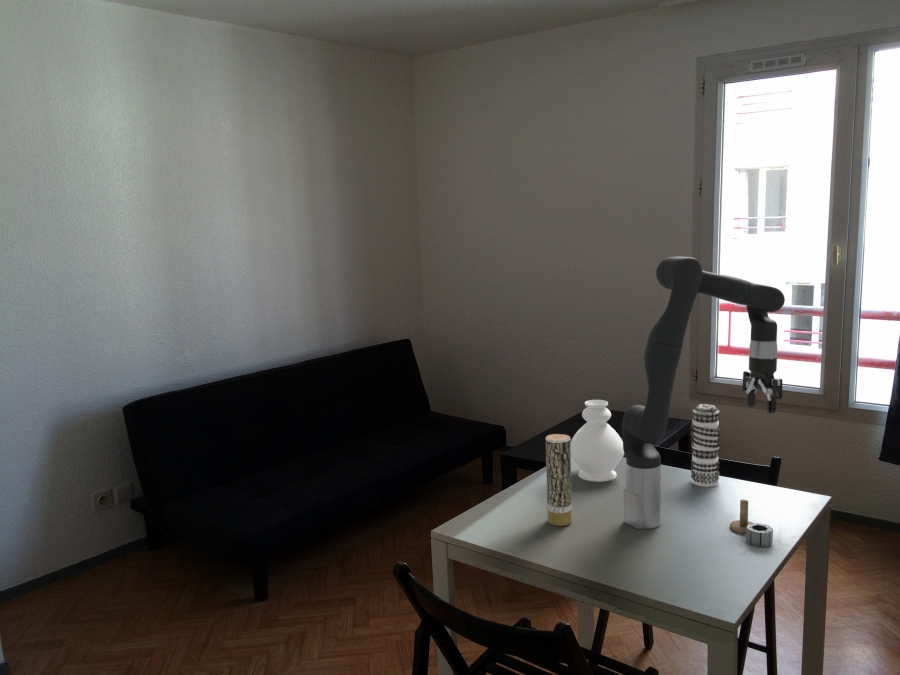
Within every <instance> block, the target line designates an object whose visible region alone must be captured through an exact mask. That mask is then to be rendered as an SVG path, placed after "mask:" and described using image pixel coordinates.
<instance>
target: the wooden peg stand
mask: <svg viewBox="0 0 900 675" xmlns="http://www.w3.org/2000/svg"><path fill="white" fill-rule="evenodd" d="M739 502H740V503H739V520H733V521H731V522H730V523H729V529H730V530H731V532H734V533H736V534H740V535H746V527H747V526H748V524H752V523H753V521H749V500H748V499H740V500H739Z"/></svg>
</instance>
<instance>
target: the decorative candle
mask: <svg viewBox="0 0 900 675" xmlns="http://www.w3.org/2000/svg"><path fill="white" fill-rule="evenodd" d="M719 413H720V410H719V409H718V408H717V407H716V406H715V405H713V404H708V403H707V404H706V403H704V404H703V403H702V404H698V405H696V406H695V408H693V409H692V421H691V422H690V423H689V424H690V426H689V428H690V431H691V432H690V441H691V443H690V445H691V448H692V456H691V458H692V459H691V460H690V463H691V465H690V466H691V470H690V473H691V474H690V478H691V479H690V481H691V483H692V484H693V485H695V486H699V487H709V488H711V487H716V486H718V485H719V484H720V476H719V475H720V471H719V470H720V461H719V455H718V454H719V449H720V447H721V445H720V442H721V440H720V439H719V437H721V433H720V432H721V431H722V429H721V428H720V427H719V425H720V424H719V423H720V421H719Z"/></svg>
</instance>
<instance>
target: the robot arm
mask: <svg viewBox="0 0 900 675" xmlns="http://www.w3.org/2000/svg"><path fill="white" fill-rule="evenodd" d="M655 276H656V279H657V281H658V284H660V286H661V287H663V288H665V289H667V290H669V291H670V296H669V300H668V303H667V305H666V308H665V310H664V311H663V313H662V315H661V316H660V317H659V319H658V320H657V321H656V323H655V324H654V325H653V327H652V329H651V331H650V332H649V334H648V337H647V342H646V346H645V350H644V354H643V355H644V357H643V362H644V363H643V364H644V369H645V375H646V380H647V387H648V388H647V389H648V391H647V396H646V402H645V405H641V404H634V405H631V406H629V407H628V408H627V409H626V411H625V412H624V414H623V416H622V417H623V418H622V421H621V433H622V441H623V450H624V456H625V460H626V466H625V467H626V473H625V474H626V476H625V477H626V489H623V522H624V523H625V524H627V525H629V526H631V527H632V528H635V529H637V530H640V529H654V528H657V527H659V526H660V525H661V518H662V517H661V509H662V508H661V507H662V506H661V505H662V503H661V500H662V499H661V495H662V490H661V489H662V488H661V487H662V486H661V484H662V483H661V482H662V481H661V480H662V479H661V478H662V477H661V475H662V473H661V472H662V467H661V466H662V465H661V464H662V463H661V462H662V458H661V454H660V452H659V451H658V450H657V449H656V447H655V446H654V444H657V443H659V442H660V441H661V440H662V439H663V437H664V436H665V434H666V431H667V429H668V425H669V424H668V423H669V418H670V417H669V416H670V408H671V400H672V395H673V394H672V393H673V388H674V383H675V379H676V373H677V369H678V365H679V362H680V358H681V354H682V349H683V344H684V340H685V335H686V331H687V327H688V324H689V320H690V316H691V312H692V310H693V306H694V303H695V301H696V297H697V295H698V293H700V294H702V295H707V296H710V297H713V298H715V299H719V300H722V301H726V302H730V303H733V304H735V305H739V306H740V305H741V306H745V307H746V312H747V315H748V319H749V320H748V321H749V323H750V342H749V349H748V350H749V351H748V370H745V371H743V372H742V386H741V389H742V391H745V393H746V394H747V395H746V399H747V400H746V405H747V407H751V408H752V407H755V406H756V392H757V391H758V390H760V391H761V392H762V391H763V394H764V395H765V396H766V398H767V405H766V406H767V409H766V411H767V413H768V414H775V413H776V410H777V401H778V400H783V378H776V377H775V376H774V374H775V373H776V372H777V370H778V369H777V367H778V323H777V322H776V321H775V320H773V319H771V318H770V316H769V313H774V312H777V311H779V310H781V309H782V308H783V306H784V304H785V301H786V300H785V295H784V293H783V291H781V289H779V288H777V287H774V286H769V285H765V284H760V283H759V284H758V283H755V282H754V283H753V282H750V281H748V280H746V279H742V278H739V277H736V276H732V275H727V274H721V273H716V272H710V271H705V270H703V267H702V264H701V263H700V261H699V260H698V259H697V258H695V257H691V256H671V257H667V258H664V259H662V260H661V261H660V262H659V263H658V265H657V268H656V271H655Z"/></svg>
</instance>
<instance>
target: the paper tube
mask: <svg viewBox="0 0 900 675" xmlns="http://www.w3.org/2000/svg"><path fill="white" fill-rule="evenodd" d="M570 444H571V436H569V435H568V434H563V433H562V434H561V433H552V434H548V435H546V437H545V465H546V469H545V471H546V499H547V500H546V502H547V503H546V504H547V505H546V506H547V508H546V509H547V522H548V523H549V524H550V525H552V526H555V527H565V526H568V525H570V524H571V523H572V520H573V517H572V516H573V515H572V514H573V511H572V509H573V508H572V505H573V504H572V465H571V464H572V461H571V459H572V456H571V451H570Z"/></svg>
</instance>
